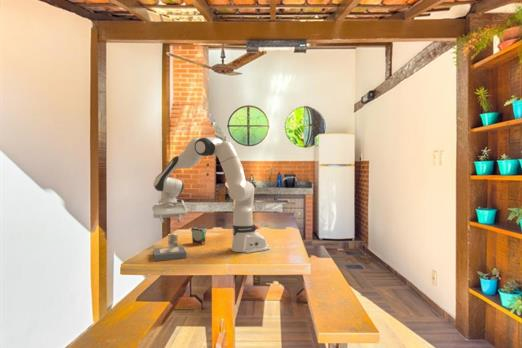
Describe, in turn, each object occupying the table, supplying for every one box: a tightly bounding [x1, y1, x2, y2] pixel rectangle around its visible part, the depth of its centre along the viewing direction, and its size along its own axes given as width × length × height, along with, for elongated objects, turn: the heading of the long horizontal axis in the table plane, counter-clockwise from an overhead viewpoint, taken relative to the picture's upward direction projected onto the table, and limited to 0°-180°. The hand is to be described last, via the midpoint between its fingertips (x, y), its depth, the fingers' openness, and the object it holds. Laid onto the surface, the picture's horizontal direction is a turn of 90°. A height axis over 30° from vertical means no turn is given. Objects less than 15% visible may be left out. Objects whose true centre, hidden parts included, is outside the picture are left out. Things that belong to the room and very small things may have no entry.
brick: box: [167, 232, 179, 247], centre depth 198 cm, size 5×5×9 cm
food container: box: [190, 226, 208, 246], centre depth 214 cm, size 12×6×10 cm, turn 47°
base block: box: [152, 245, 187, 262], centre depth 184 cm, size 16×16×3 cm
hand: (171, 221), depth 208 cm, fingers open, 8 cm apart
